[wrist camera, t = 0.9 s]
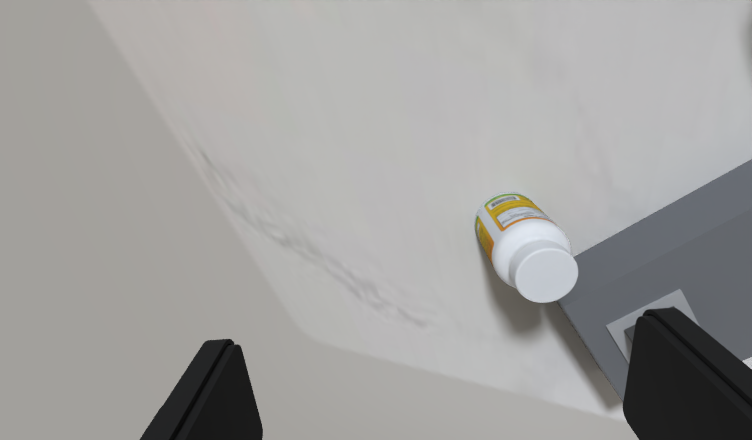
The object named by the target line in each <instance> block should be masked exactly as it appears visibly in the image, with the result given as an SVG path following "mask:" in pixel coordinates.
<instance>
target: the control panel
mask: <svg viewBox="0 0 752 440" xmlns="http://www.w3.org/2000/svg"><path fill="white" fill-rule="evenodd" d="M573 258H574V259H575V261H576V263H577V266H578V278H577V281H576V283H575V285H574V287H573V288H572V289H571V291H570V292H569V293H568V294H566V295H565V296H563V297H562V298H560V299H558V300H556V301H557V302H558V304H559V305H560V307H561V308H562V310H563V312H564V313H565V315H566V316H567V318H568V319H569V321H570V323H571V324H572V326H573V327H574V329H575V330H576V332H577V333H578V335H579V337H580V338H581V340H582V341H583V343H584V344H585V346H586V347H587V349H588V351H589V352H590V354H591V355H592V357H593V358H594V360H595V361H596V363H597V365H598V366H599V368H600V369H601V371H602V372H603V374H604V375H605V377H606V378H607V379H608V381H609V382H610V384H611V385H612V387H613V388H614V390H615V391H616V392H617V394H618V395H619V397H620V398H621V400H622V401H624V394H625V388H626V382H627V375H628V369H629V362H630V356H631V350H632V343H633V337H634V330H635V324H636V320H637V318H638V317H640V316H642V315H643V313H644V312H645V310H648V309H659V308H677V309H678V310H680V311H681V312H683V313H684V314H685V315H686V316H687V317H689V318H690V319H691V320H692V321H694V322H695V323H696V324H697V325H698V326H700V327H701V328H702V329H703V330H704V331H706V332H707V333H708V334H709V335H710V336H712V337H713V338H714V339H715V340H717V341H718V342H719V343H720V344H721V345H723V346H724V347H725V348H726V349H727V350H729V351H730V352H731V353H732V354H734V355H735V356H736V357H737V358H738V359H740V360H741V361H743V360H745V359H748V358H750V357H752V160H750V161H748V162H746V163H744V164H743V165H741V166H739V167H737V168H735V169H734V170H732V171H730V172H728V173H726V174H724V175H723V176H721V177H719V178H717V179H715V180H714V181H712V182H710V183H708V184H706V185H704V186H703V187H701V188H699V189H697V190H695V191H694V192H692V193H690V194H688V195H686V196H684V197H683V198H681V199H679V200H677V201H675V202H673V203H672V204H670V205H668V206H666V207H664V208H663V209H661V210H659V211H657V212H655V213H653V214H652V215H650V216H648V217H646V218H644V219H643V220H641V221H639V222H637V223H635V224H633V225H632V226H630V227H628V228H626V229H624V230H623V231H621V232H619V233H617V234H615V235H613V236H612V237H610V238H608V239H606V240H604V241H603V242H601V243H599V244H597V245H595V246H593V247H592V248H590V249H588V250H586V251H584V252H583V253H581V254H579V255H577V256H575V257H573Z"/></svg>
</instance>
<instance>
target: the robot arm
mask: <svg viewBox="0 0 752 440" xmlns="http://www.w3.org/2000/svg"><path fill="white" fill-rule="evenodd" d="M623 412H624V415H625V418H626V420H627V422H628V424H629V425H630V427H631V428H632V430H633V431H634V433H635V434H636V435H637V437H638V438H639V440H752V369H750V368H749V367H748V366H747V365H746V364H744V363H743V362H742V361H741V360H740V359H738V358H737V357H736V356H735V355H734V354H732V353H731V352H730V351H729V350H727V349H726V348H725V347H724V346H723V345H721V344H720V343H719V342H718V341H717V340H715V339H714V338H713V337H712V336H710V335H709V334H708V333H707V332H706V331H704V330H703V329H702V328H701V327H700V326H698V325H697V324H696V323H695V322H694V321H692V320H691V319H690V318H689V317H687V316H686V315H685V314H684V313H683V312H681V311H680V310H678V309H677V308H659V309H648V310H645V312H644V313H643V315H642V316H640V317H638V318H637V320H636V324H635V330H634V337H633V343H632V350H631V356H630V362H629V369H628V375H627V382H626V388H625V394H624V401H623ZM262 436H263V429H262V424H261V420H260V416H259V412H258V409H257V405H256V401H255V398H254V394H253V390H252V386H251V383H250V379H249V375H248V371H247V368H246V364H245V360H244V356H243V352H242V349H241V347H240V345H234V342H233V341H232V340H231V339H222V340H208V341H206V342H205V343H204V344H203V345H202V347H201V348H200V350H199V351H198V353H197V354H196V356H195V357H194V359H193V361H192V362H191V363H190V365H189V366H188V368H187V370H186V371H185V373H184V374H183V376H182V377H181V379H180V380H179V382H178V383H177V385H176V386H175V388H174V390H173V391H172V393H171V394H170V396H169V397H168V399H167V400H166V402H165V403H164V405H163V406H162V407H161V408H160V409H159V411H158V413H157V414H156V416H155V417H154V419H153V420H152V422H151V423H150V425H149V426H148V428H147V429H146V431H145V432H144V434H143V435H142V437H141V439H140V440H262Z"/></svg>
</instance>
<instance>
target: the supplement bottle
mask: <svg viewBox="0 0 752 440" xmlns="http://www.w3.org/2000/svg"><path fill="white" fill-rule="evenodd" d="M475 231H476V234H477V236H478V239H479V241H480V243H481V244H482V246H483V248H484V250H485V252H486V254H487V256H488V258H489V260H490V262H491V264H492V266H493V268H494V269H495V271H496V273H497V274H498V276H499V277H500V278H501V279H502V280H503V281H504V282H505V283H506V284H508V285H509V286H511V287H513V288H516V289H517V290H518V291H519V293H520V294H521V295H522V296H523V297H525V298H526V299H528V300H530V301H533V302H537V303H548V302H553V301H556V300H558V299H560V298H562V297H563V296H565V295H566V294H568V293H569V292H570V291H571V289H572V288H573V287H574V285H575V283H576V281H577V278H578V266H577V263H576V261H575V259H574V258H573V257H572V250H571V244H570V241H569V239H568V237H567V236H566V234H565V233H564V232H563V231H562V230H561V229H560V228H559V227H558V226H557V225H556V224H555V223H554V222H553V221H552V220H551V219H550V218H549V217H548V216H547V215H545V214H544V213H543V212H542V211H541V210H540V209H539V208H538V207H537V206H536V205H535V204H534V203H533V202H532V201H531V200H529V199H528V198H527V197H525V196H523V195H521V194H518V193H512V192H508V193H501V194H497V195H495V196H493V197H491V198H489V199H488V200H487V201H486V202H484V203H483V205H482V206H481V207H480V209H479V210H478V212H477V215H476V218H475Z"/></svg>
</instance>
